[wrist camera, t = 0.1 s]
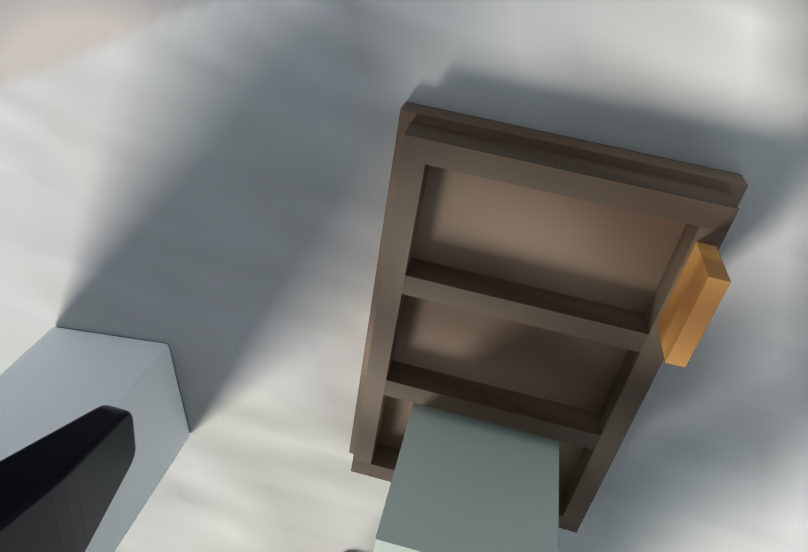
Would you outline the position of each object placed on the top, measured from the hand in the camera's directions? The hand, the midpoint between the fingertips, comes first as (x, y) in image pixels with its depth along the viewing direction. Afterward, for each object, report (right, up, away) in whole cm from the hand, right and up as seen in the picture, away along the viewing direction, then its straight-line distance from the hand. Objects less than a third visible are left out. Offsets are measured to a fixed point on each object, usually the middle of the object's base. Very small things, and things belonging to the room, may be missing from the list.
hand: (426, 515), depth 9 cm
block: (+3, -3, +18) cm, 19 cm away
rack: (+4, +1, +16) cm, 17 cm away
